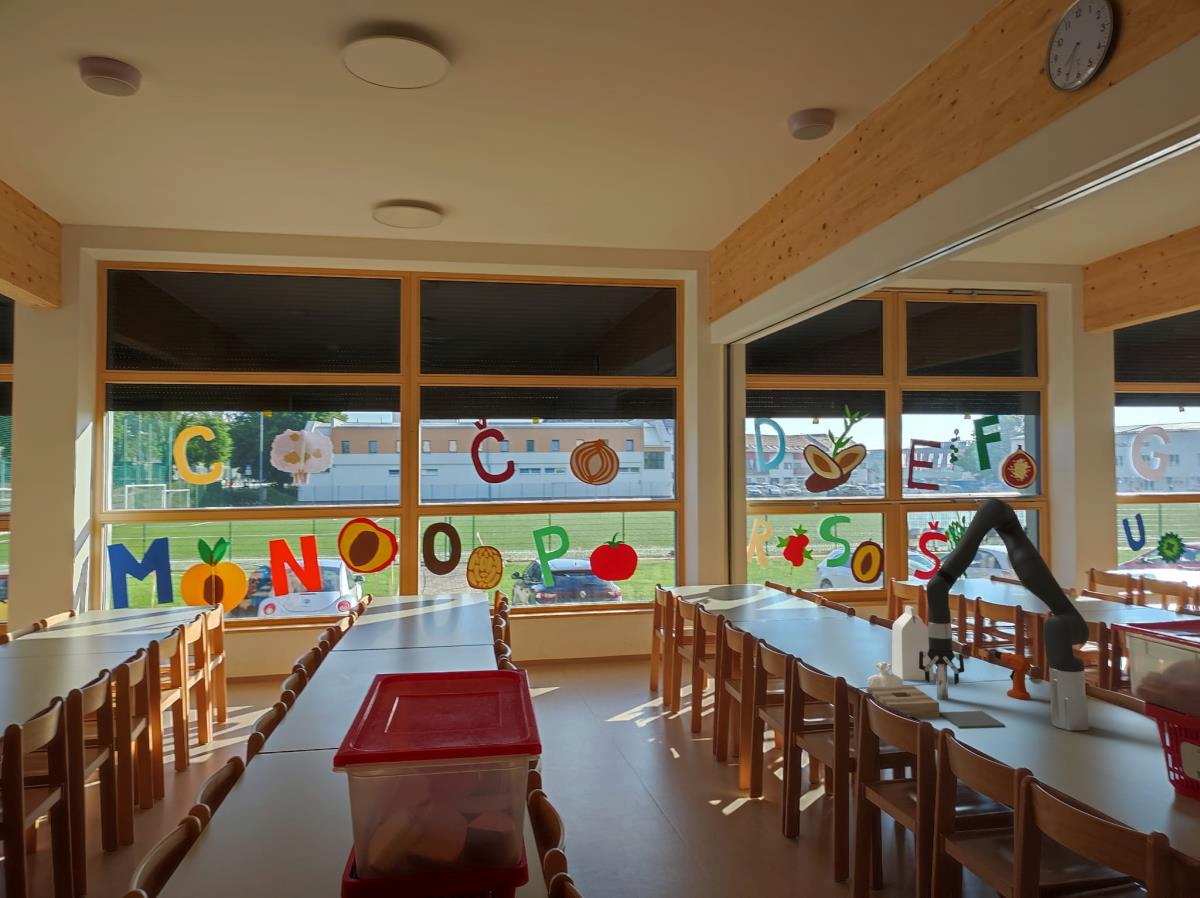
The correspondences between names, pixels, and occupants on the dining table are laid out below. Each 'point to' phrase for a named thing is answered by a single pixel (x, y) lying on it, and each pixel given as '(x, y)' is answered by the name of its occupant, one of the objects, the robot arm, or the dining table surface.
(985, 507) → the robot arm
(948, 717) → the rubber mat
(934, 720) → the dining table surface
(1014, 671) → the toy drill
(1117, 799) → the dining table surface
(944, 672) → the silver metal cylinder
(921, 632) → the milk
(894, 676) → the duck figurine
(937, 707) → the block
